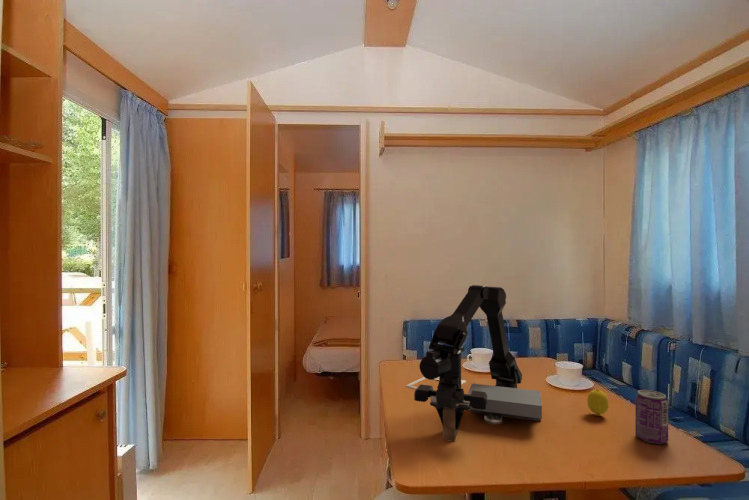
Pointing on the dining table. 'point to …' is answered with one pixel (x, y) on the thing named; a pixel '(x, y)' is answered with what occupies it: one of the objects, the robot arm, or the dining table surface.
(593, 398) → the lemon
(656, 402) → the beverage can
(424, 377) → the photo frame
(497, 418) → the steel token
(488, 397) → the grey rectangular block
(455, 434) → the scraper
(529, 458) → the dining table surface
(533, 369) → the dining table surface
